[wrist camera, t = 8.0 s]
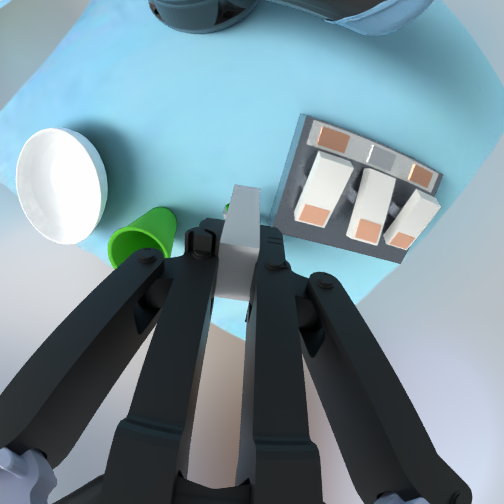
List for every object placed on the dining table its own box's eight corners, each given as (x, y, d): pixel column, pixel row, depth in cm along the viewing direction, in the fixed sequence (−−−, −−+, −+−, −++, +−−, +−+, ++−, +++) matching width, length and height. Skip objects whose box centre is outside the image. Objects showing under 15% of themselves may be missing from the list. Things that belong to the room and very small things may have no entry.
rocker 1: (318, 150, 28) (321, 157, 27) (350, 161, 29) (354, 168, 27) (294, 211, 35) (294, 221, 33) (322, 219, 35) (324, 228, 34)
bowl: (136, 213, 41) (120, 230, 36) (60, 237, 44) (43, 254, 39) (98, 102, 31) (76, 105, 26) (25, 149, 34) (3, 158, 29)
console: (300, 113, 33) (308, 116, 28) (426, 165, 35) (447, 177, 30) (269, 216, 41) (271, 235, 36) (389, 247, 44) (403, 268, 38)
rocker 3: (416, 188, 30) (421, 198, 28) (436, 198, 30) (441, 207, 29) (383, 235, 36) (386, 244, 35) (403, 241, 37) (406, 250, 36)
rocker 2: (364, 168, 31) (370, 168, 29) (389, 178, 32) (396, 178, 30) (345, 235, 34) (351, 238, 32) (371, 242, 34) (377, 246, 32)
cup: (192, 245, 44) (176, 288, 35) (142, 245, 44) (117, 285, 35) (186, 193, 39) (164, 226, 30) (132, 196, 40) (99, 228, 30)
